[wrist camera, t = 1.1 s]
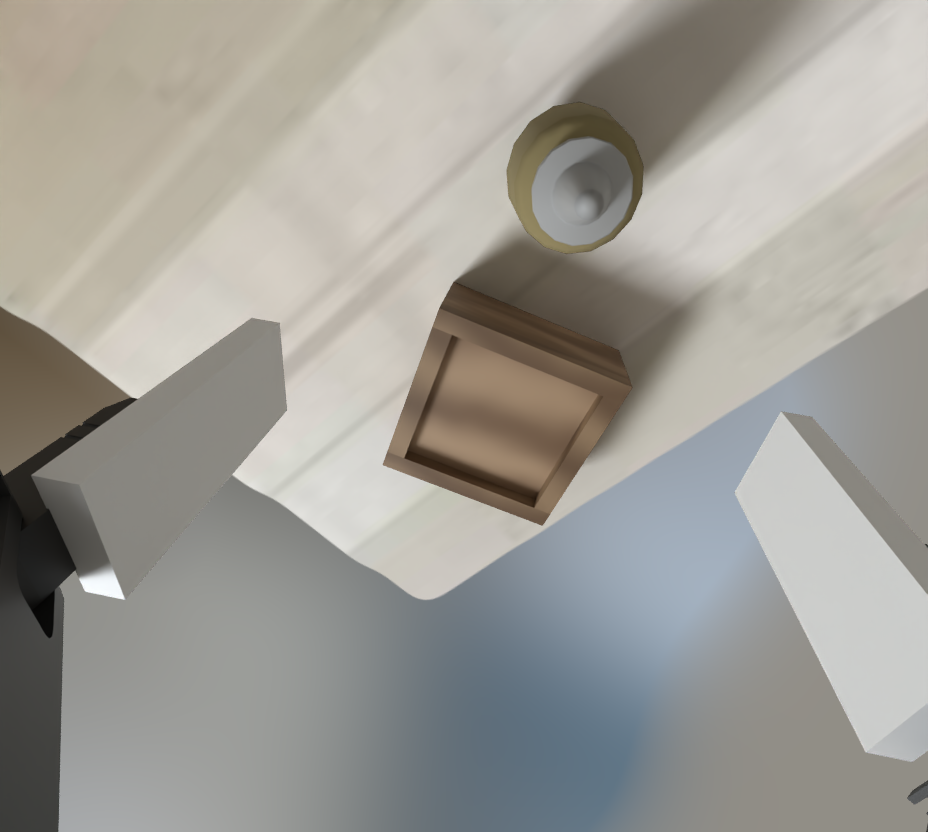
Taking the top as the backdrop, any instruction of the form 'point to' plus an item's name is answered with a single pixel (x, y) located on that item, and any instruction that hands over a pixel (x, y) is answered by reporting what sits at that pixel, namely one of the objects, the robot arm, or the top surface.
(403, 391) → the top surface
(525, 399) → the walnut tray
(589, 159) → the squeeze bottle
